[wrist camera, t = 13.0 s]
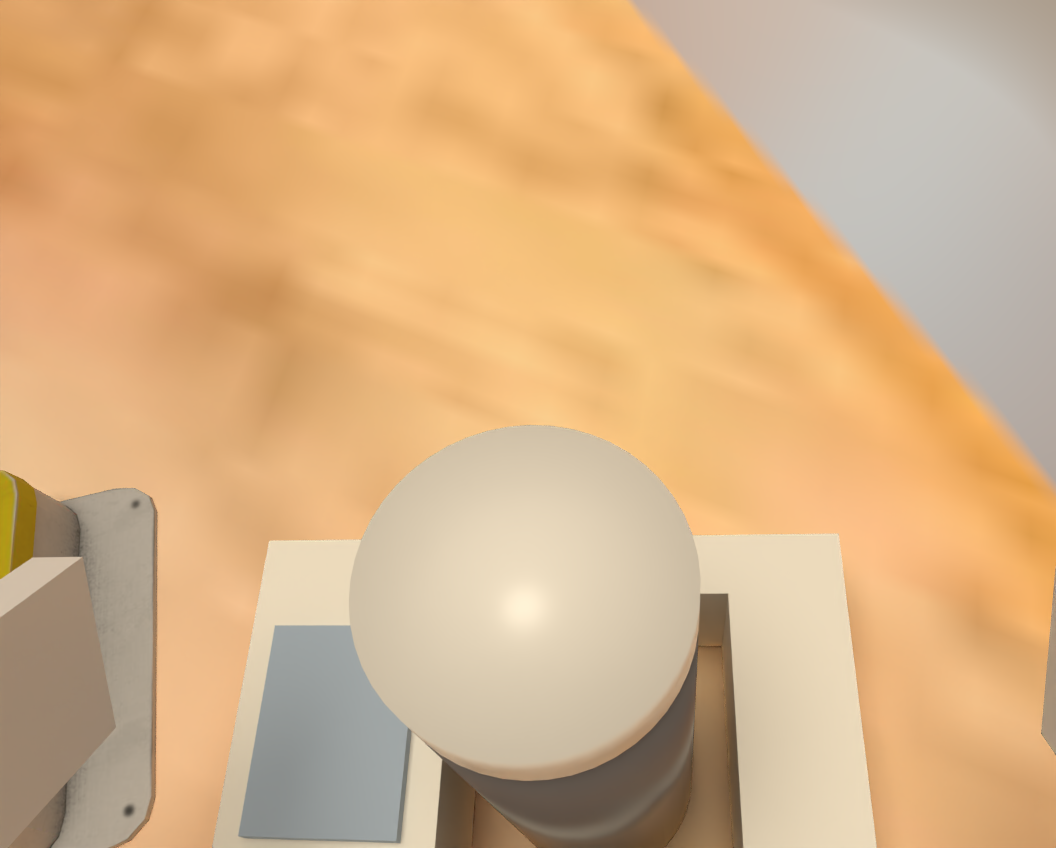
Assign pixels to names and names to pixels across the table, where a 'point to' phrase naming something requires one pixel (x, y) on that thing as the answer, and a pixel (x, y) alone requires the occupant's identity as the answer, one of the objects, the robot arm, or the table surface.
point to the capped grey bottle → (540, 631)
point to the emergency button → (126, 645)
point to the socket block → (448, 800)
